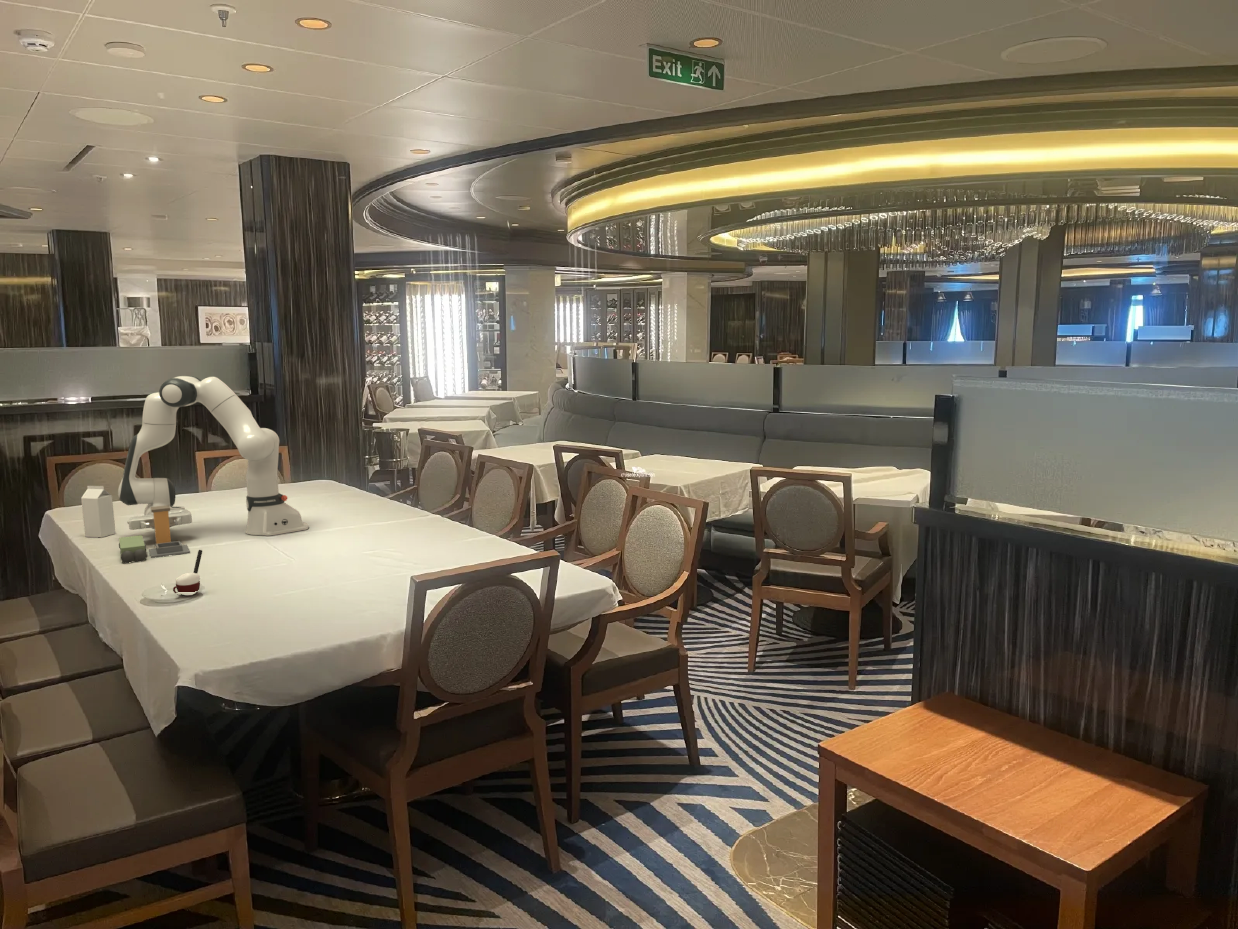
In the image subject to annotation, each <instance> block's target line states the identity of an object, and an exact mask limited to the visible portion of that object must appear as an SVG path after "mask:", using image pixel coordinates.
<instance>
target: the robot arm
mask: <svg viewBox="0 0 1238 929" xmlns="http://www.w3.org/2000/svg"><path fill="white" fill-rule="evenodd" d="M198 403H200V404H202V405H203V406H204V407H206V409H207V410H208V412H210V413H211V415H212V416H213V417H214V418H215V419H216V421H217V422H218V423H220V425H221V426H222V427H223V428H224V429H225V431H226V433H227V434H228V436H229V437H230V438H231V440H232V442H233V444H234V445H235V446H236V448H237V450H238V454H239V455H240V456H241V457H242V458H243V459H245V460H247V468H246V474H245V480H246V483H245V484H246V492H247V493H246V496H245V497H246V500H245V502H246V510H247V524H246V529H245V534H247V535H250V536H251V535H252V536H268V537H269V536H276V535H282V534H289V533H293V532H300V531H306V530H308V529H309V523H307V522H305V521H303V519H302V516H301V513H300V511H298V510H297V509H296V508H294V507H293V506H291V505H290V504H288V503H286V501H287V500H288V496H287V495H285V494H283V493H280V492H279V481H278V480H279V478H278V466H279V455H280V453H279V450H280V449H279V448H280V437H279V436H278V434H277V433H276V431H274V430H273V429H270V428H266V427H260V426H259V424H258V422H257V421H256V419H255V418H254V417H253V414H252V411H251V409H249V407H247V405H246V404H245V403H244V402H243V400H242V399H241V398H240V397H239V396H238V395H237V394H236V393H235V392H234V390H233V389H231V388H230V387H229V385H227V384H226V383H225V382H224V381H222V380H221V379H220V378H218V377H217V376H208V377H206V378H203V379H200V378H199V377H197V376H194V375H181V376H180V375H179V376H175V377H172V378H168V379H167V380H165V381H163V383H162V384H161V385H160V387H159V392H153V393H151V394H148V395H147V396H146V397H145V401H144V403H143V409H142V410H143V411H142V422H141V427H140V430H139V432H138V433H137V434H136V435H133V436H132V438H131V440H130V443H129V447H128V451H127V455H126V459H125V464H124V468H123V473H122V476H121V477H122V478H121V481H120V483H119V484H118V489H117V496H118V500H119V501H120V502H122V504H124V505H126V506H137V505H146V506H145V508H144V512H143V514H144V515H137V516H131V517H130V518H129V519H128V520H127V524H128V527H129V530H131V531H133V530H144V529H152V530H155V527H154V516H153V513H152V512H151V507H157V506H167V505H169V507H170V511H168V515H169V526H170V528H172V527H174V526H181V525H186V524H187V525H189V524H192V523H193V519H192V518H193V517H192V513H191V512H190V510H188V509H186V508H185V507H184V506H174V505H175V503H176V489H175V485H174V482H172V481H171V480H170V478H167V477H153V478H152V477H150V478H149V477H148V478H139V477H136V474H137V469H138V464H139V461H140V458H141V456H142V455H143V454H145V453H147V452H149V451H152V450H156V449H158V448H162V447H163V446H166V445H168V444H169V443H170V442H172V440H173V439H174V438H175V435H176V428H177V427H176V426H177V412H178V410H179V408H182V407H188V406H192V405H195V404H198Z"/></svg>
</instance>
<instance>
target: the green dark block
mask: <svg viewBox="0 0 1238 929" xmlns="http://www.w3.org/2000/svg"><path fill="white" fill-rule="evenodd" d="M118 541H119V542H118V547H119V551H120V561H121V564H130V563H129V562H131V563H133V562H132V561H135V562H138V561H141V562H144V561H146V560H147V557H148V553H147V545H146V541H145V540H144V538H143V535H142V534H141V535H140V534H139V535H131V536H122V537H119V538H118ZM123 562H124V563H123Z"/></svg>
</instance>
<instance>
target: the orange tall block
mask: <svg viewBox="0 0 1238 929" xmlns="http://www.w3.org/2000/svg"><path fill="white" fill-rule="evenodd" d="M168 511H170V507H169V505H167V506H157V507H151V512H152V513H153V516H154V527H155V529H154V536H155V538H154V539H155V545H156V544H159V543H167V542H172V540H171V539H172V538H171V527H170V526H169V515H168Z"/></svg>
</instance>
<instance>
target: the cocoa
mask: <svg viewBox="0 0 1238 929" xmlns="http://www.w3.org/2000/svg"><path fill="white" fill-rule="evenodd" d="M202 555H203V549H198V550H197V555H196V558H195V559H196V560H195V564H194V568H193V572H186V573H183V574H181V575H179V576H178V577H177V578H175V586H174V587H173V588H172V592H173V593H174V594H176V593H178V592H195V591H198V590H199V591H200V587H201V581H200V580H201V578H200V574H198V572H199V569H200V565H201V559H202ZM176 590H177V591H176ZM199 591H198V592H199Z"/></svg>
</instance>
